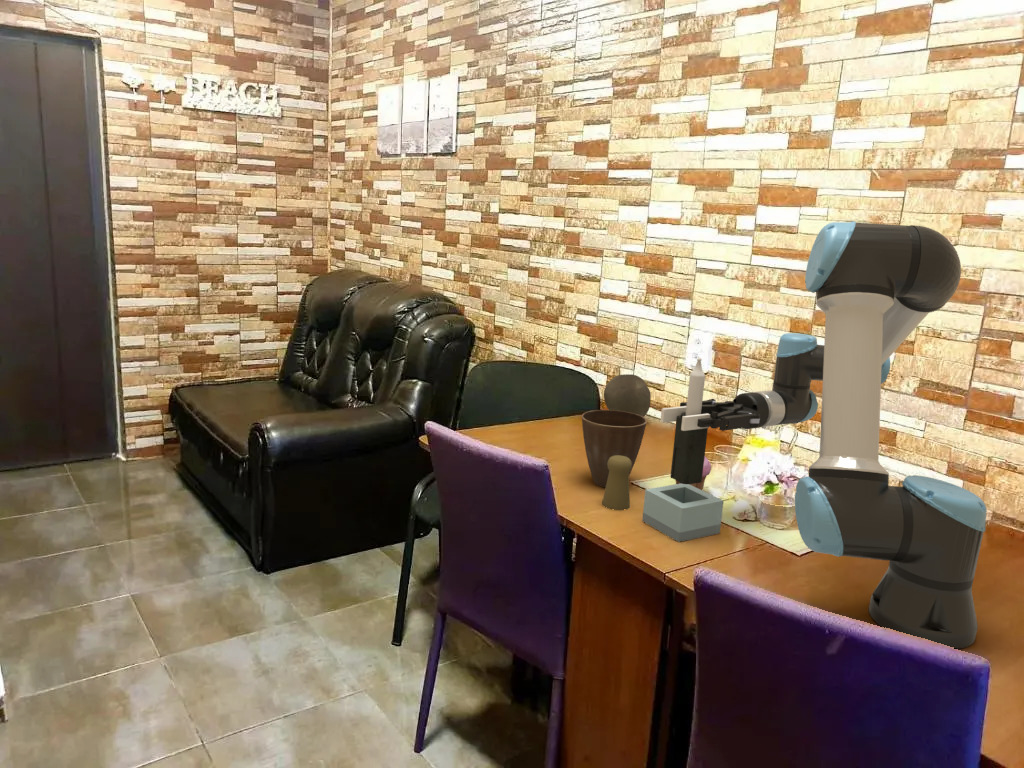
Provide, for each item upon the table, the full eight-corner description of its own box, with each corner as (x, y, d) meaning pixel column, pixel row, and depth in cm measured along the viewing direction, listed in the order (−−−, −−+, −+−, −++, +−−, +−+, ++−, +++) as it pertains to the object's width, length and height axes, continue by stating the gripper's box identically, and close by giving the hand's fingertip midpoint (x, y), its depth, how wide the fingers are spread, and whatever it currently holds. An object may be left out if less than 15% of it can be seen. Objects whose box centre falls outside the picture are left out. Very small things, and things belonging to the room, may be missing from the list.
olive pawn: (629, 511, 159) (633, 462, 156) (600, 508, 160) (605, 459, 158) (630, 501, 165) (635, 454, 162) (603, 498, 166) (607, 451, 163)
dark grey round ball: (623, 413, 241) (627, 368, 238) (657, 424, 231) (662, 377, 227) (593, 419, 232) (596, 372, 229) (627, 430, 222) (631, 381, 218)
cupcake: (691, 502, 167) (696, 459, 164) (661, 490, 173) (665, 449, 171) (715, 494, 172) (720, 453, 170) (684, 483, 179) (689, 443, 177)
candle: (667, 476, 151) (680, 355, 146) (688, 474, 153) (701, 354, 148) (683, 484, 147) (697, 360, 141) (704, 482, 149) (718, 359, 143)
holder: (719, 533, 150) (723, 500, 149) (678, 542, 145) (682, 508, 143) (682, 513, 160) (685, 482, 158) (642, 521, 154) (645, 489, 153)
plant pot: (591, 496, 167) (596, 427, 163) (567, 473, 181) (572, 410, 177) (651, 492, 171) (658, 425, 168) (624, 471, 185) (629, 408, 181)
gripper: (789, 439, 149) (703, 451, 138) (722, 416, 165) (640, 425, 153) (794, 403, 148) (708, 412, 136) (726, 383, 163) (643, 390, 151)
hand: (672, 419), depth 145 cm, fingers closed on candle, 5 cm apart
